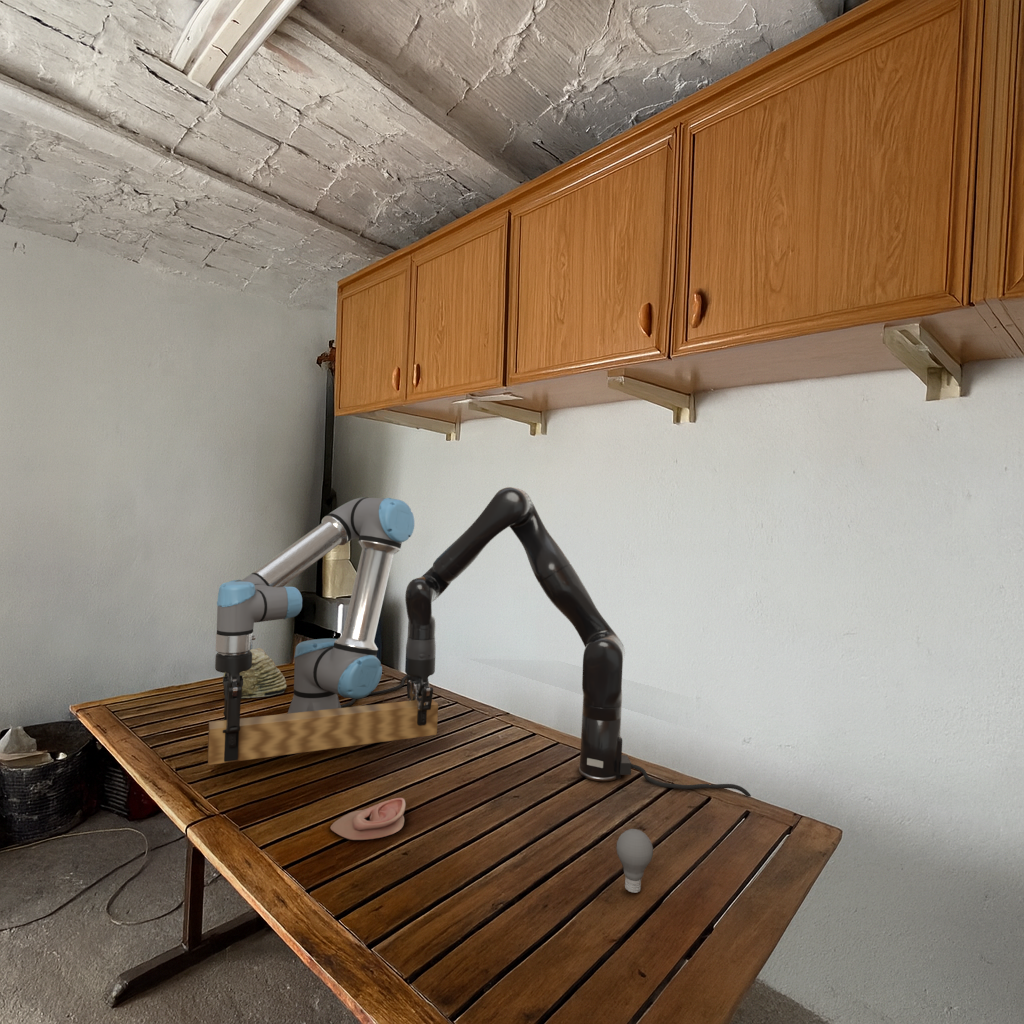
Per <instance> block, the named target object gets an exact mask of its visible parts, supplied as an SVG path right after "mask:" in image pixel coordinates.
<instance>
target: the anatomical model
mask: <svg viewBox="0 0 1024 1024" xmlns="http://www.w3.org/2000/svg"><path fill="white" fill-rule="evenodd" d="M406 807H407V804H406V799H405V798H403V797H396V798H391V799H388V800H385V801H382V802H378V803H376V804H374V805H372V806H370V807H367V808H364V809H360V810H355V811H351V812H348V813H347V814H344V815H343V816H341V817H340V818H338V819H336V820H335V821H334V822H333V823H332V824H331V825H330V830H331V832H333V833H335V834H337V835H338V836H339V837H342V838H344V839H346V840H351V841H365V840H374V839H380V838H384V837H388V836H391V835H394V834H395V833H397V832H399V831H400V830H402V829H403V828H404V825H405V816H404V814H405V812H406V811H405V810H406Z"/></svg>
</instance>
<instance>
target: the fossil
mask: <svg viewBox="0 0 1024 1024" xmlns="http://www.w3.org/2000/svg"><path fill="white" fill-rule="evenodd" d="M250 651H251V652H252V667H251V668H250V669H249V670H247V671H242V672H240V676H241V675H242V678H243V686H242V698H241V699H250V698H264V697H271V696H275V695H281V694H284V693H285V691H286V689H287V687H288V686H287V680H286V678H285V676H284V674H283V673H282V672H281V669H279V668H278V667H277V665H276V663H275V662H274V660H273V659H272V658H271V657H270V656H269V655H268V654H267V653H266V652H265V650H264V649H263V648H260V647H258V648H252V649H251V650H250ZM225 673H226V672H225ZM225 673H223V675H222V677H225Z"/></svg>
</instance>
